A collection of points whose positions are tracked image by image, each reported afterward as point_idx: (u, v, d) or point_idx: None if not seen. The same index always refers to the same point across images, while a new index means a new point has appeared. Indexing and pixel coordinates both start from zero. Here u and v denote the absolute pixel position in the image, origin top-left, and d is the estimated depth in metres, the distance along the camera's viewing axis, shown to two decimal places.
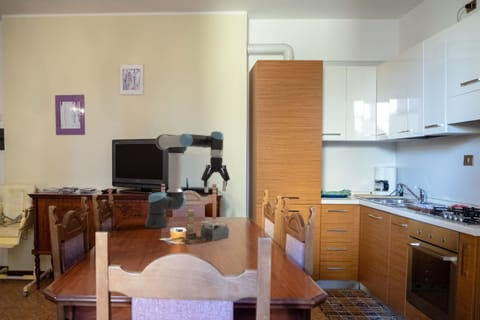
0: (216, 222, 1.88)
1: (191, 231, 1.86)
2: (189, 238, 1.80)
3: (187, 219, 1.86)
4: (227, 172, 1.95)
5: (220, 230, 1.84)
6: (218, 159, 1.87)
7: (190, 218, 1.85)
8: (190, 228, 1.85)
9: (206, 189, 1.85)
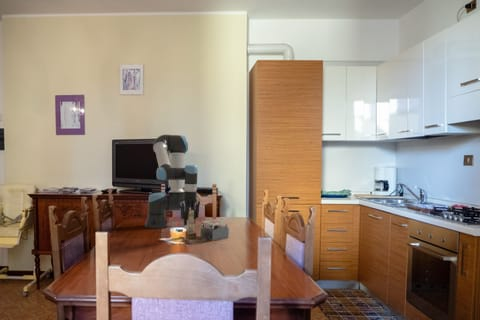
0: (216, 222, 1.88)
1: (191, 231, 1.86)
2: (189, 238, 1.80)
3: (187, 219, 1.86)
4: (198, 209, 1.90)
5: (220, 230, 1.84)
6: (192, 194, 1.83)
7: (190, 218, 1.85)
8: (190, 228, 1.85)
9: (186, 227, 1.85)
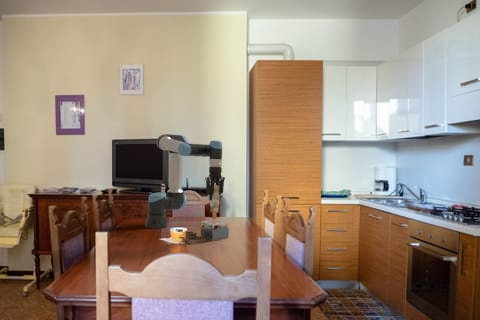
0: (216, 222, 1.88)
1: (216, 206, 1.87)
2: (189, 238, 1.80)
3: None
4: (223, 185, 1.91)
5: (220, 230, 1.84)
6: (217, 169, 1.85)
7: (215, 193, 1.86)
8: (215, 203, 1.86)
9: (211, 202, 1.86)
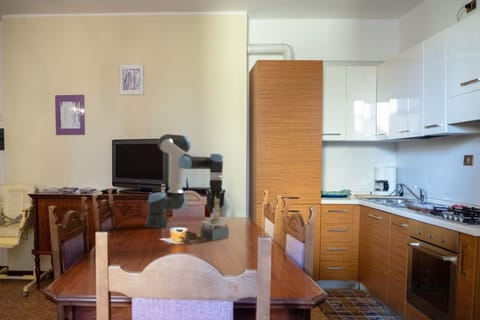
0: None
1: (217, 219, 1.87)
2: (189, 238, 1.80)
3: (213, 207, 1.87)
4: (223, 198, 1.91)
5: (220, 230, 1.84)
6: (218, 182, 1.85)
7: (216, 206, 1.86)
8: (215, 216, 1.86)
9: (212, 215, 1.86)
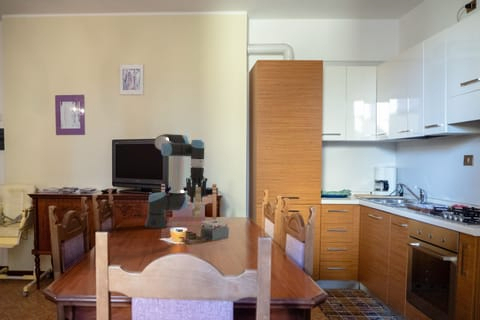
0: (216, 225, 1.88)
1: (198, 209, 1.77)
2: (189, 238, 1.80)
3: (194, 196, 1.76)
4: (205, 186, 1.81)
5: (220, 230, 1.84)
6: (199, 169, 1.74)
7: (197, 195, 1.76)
8: (196, 205, 1.76)
9: (193, 205, 1.76)
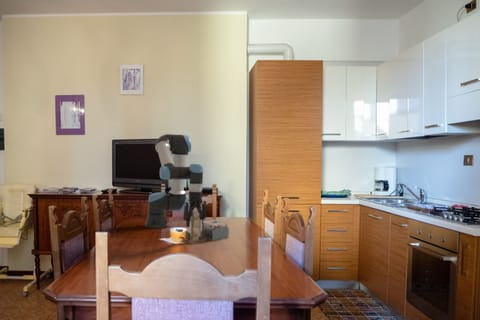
0: (216, 225, 1.88)
1: (196, 235, 1.76)
2: (189, 238, 1.80)
3: (192, 222, 1.76)
4: (205, 209, 1.81)
5: (220, 230, 1.84)
6: (197, 194, 1.74)
7: (195, 221, 1.76)
8: (195, 232, 1.75)
9: (189, 229, 1.74)
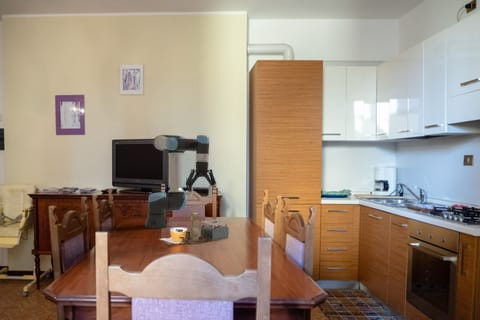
0: (216, 225, 1.88)
1: (196, 235, 1.76)
2: (189, 238, 1.80)
3: (192, 222, 1.76)
4: (213, 176, 1.91)
5: (220, 230, 1.84)
6: (203, 163, 1.83)
7: (195, 221, 1.76)
8: (195, 232, 1.75)
9: (191, 194, 1.82)
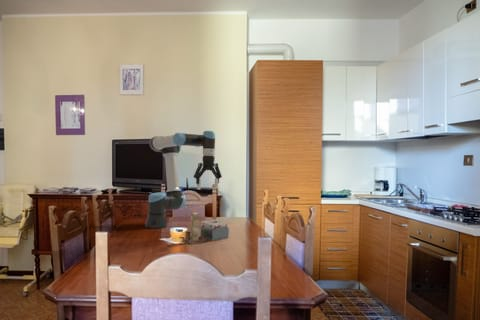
0: (216, 225, 1.88)
1: (196, 235, 1.76)
2: (189, 238, 1.80)
3: (192, 222, 1.76)
4: (219, 170, 2.02)
5: (220, 230, 1.84)
6: (210, 157, 1.94)
7: (195, 221, 1.76)
8: (195, 232, 1.75)
9: (198, 186, 1.93)
